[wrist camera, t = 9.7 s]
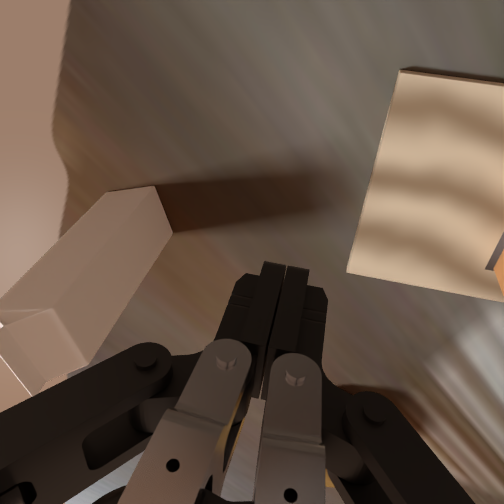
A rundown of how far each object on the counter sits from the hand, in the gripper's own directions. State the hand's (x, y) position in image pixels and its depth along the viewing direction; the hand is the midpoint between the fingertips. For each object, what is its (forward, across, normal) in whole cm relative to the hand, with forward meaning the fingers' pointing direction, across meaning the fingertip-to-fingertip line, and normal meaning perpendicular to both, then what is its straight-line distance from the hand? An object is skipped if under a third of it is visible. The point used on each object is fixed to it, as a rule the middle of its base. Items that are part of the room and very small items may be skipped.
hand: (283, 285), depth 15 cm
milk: (+27, +18, +17) cm, 37 cm away
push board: (+27, -18, +9) cm, 34 cm away
